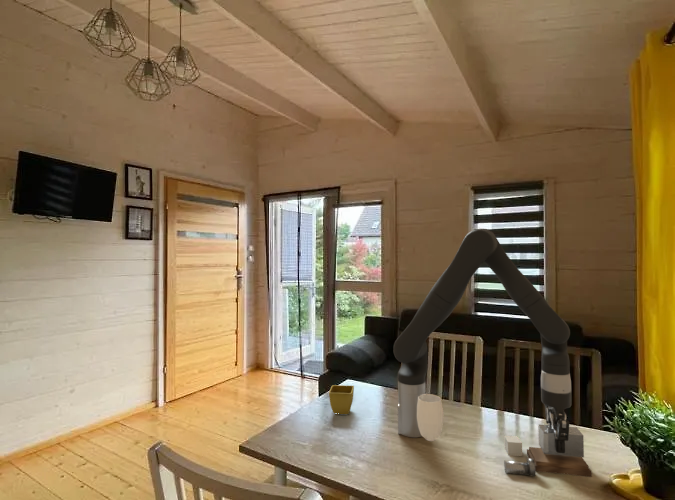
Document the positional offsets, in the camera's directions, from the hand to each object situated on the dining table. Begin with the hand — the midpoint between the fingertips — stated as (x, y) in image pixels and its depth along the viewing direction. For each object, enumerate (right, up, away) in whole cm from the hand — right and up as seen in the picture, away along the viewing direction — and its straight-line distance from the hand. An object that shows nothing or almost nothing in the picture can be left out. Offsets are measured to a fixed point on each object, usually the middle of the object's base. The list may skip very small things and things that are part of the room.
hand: (557, 447), depth 110 cm
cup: (-36, -6, -3) cm, 37 cm away
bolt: (-13, -5, -4) cm, 14 cm away
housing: (+1, -1, 0) cm, 1 cm away
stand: (0, -5, 0) cm, 5 cm away
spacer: (-9, -5, +7) cm, 13 cm away
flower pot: (-61, -7, +39) cm, 72 cm away
